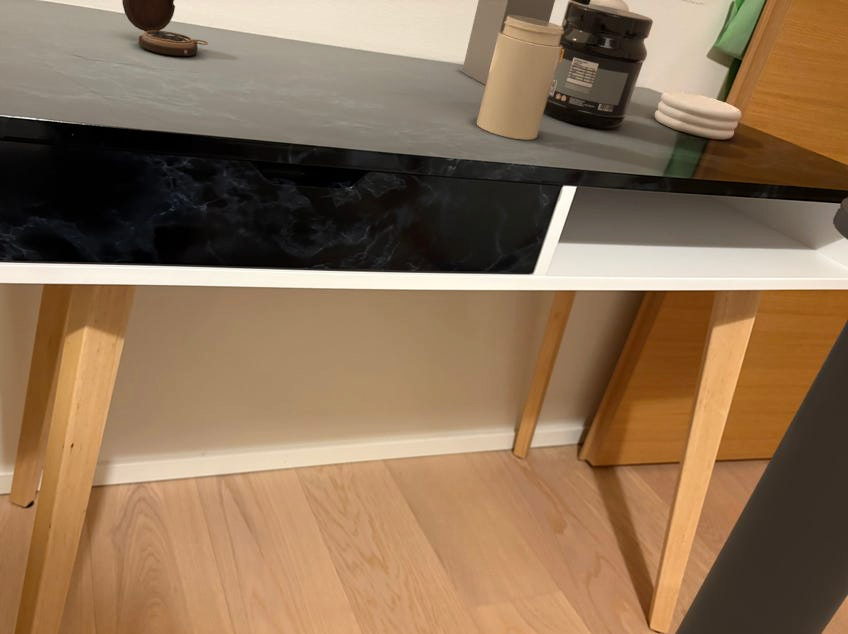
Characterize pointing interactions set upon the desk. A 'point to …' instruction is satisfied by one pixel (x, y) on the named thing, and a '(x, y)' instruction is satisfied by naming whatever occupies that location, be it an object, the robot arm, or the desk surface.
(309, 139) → the desk surface
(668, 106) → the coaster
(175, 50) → the compass
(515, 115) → the jar
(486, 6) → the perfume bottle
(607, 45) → the supplement container
